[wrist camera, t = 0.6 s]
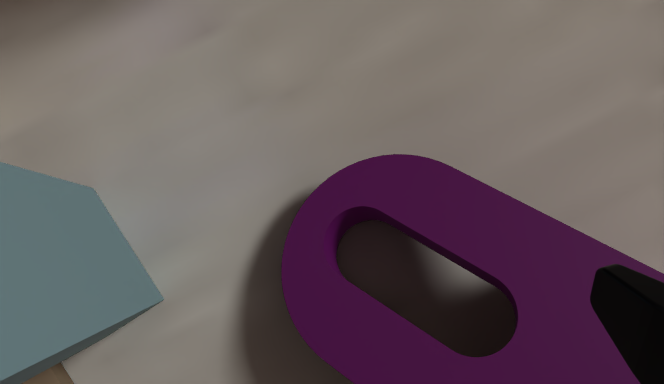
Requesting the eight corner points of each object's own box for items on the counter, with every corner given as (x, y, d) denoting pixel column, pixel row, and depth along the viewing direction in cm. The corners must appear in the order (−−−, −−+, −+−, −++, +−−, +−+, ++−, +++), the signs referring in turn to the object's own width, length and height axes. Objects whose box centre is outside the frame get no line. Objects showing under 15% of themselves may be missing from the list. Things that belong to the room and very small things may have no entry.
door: (164, 299, 24) (1, 380, 10) (104, 337, 23) (-150, 477, 10) (89, 182, 24) (-172, 102, 10) (29, 218, 24) (-328, 186, 10)
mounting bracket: (303, 318, 30) (619, 551, 23) (240, 296, 23) (683, 635, 15) (392, 183, 32) (719, 364, 24) (360, 119, 24) (824, 355, 17)
